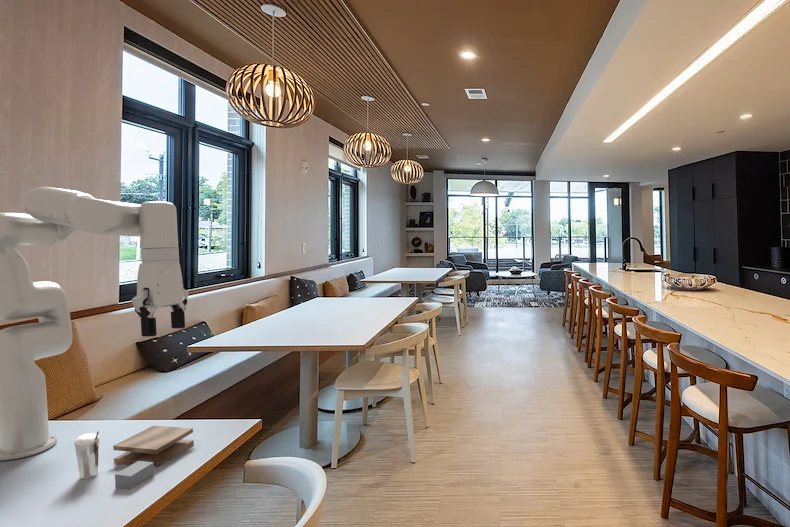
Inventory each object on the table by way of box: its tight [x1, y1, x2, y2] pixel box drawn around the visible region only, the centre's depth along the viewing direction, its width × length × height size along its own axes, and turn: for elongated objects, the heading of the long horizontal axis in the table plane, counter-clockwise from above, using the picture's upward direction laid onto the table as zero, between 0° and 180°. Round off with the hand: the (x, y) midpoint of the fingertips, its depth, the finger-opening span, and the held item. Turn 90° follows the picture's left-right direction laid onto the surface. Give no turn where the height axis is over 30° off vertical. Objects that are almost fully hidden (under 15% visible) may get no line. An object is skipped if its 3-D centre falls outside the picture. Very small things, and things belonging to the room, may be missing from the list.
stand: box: [112, 425, 195, 468], centre depth 106 cm, size 12×12×4 cm
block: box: [114, 461, 155, 490], centre depth 92 cm, size 4×6×3 cm, turn 166°
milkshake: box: [73, 430, 100, 480], centre depth 95 cm, size 4×5×10 cm
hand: (164, 331), depth 99 cm, fingers open, 9 cm apart
